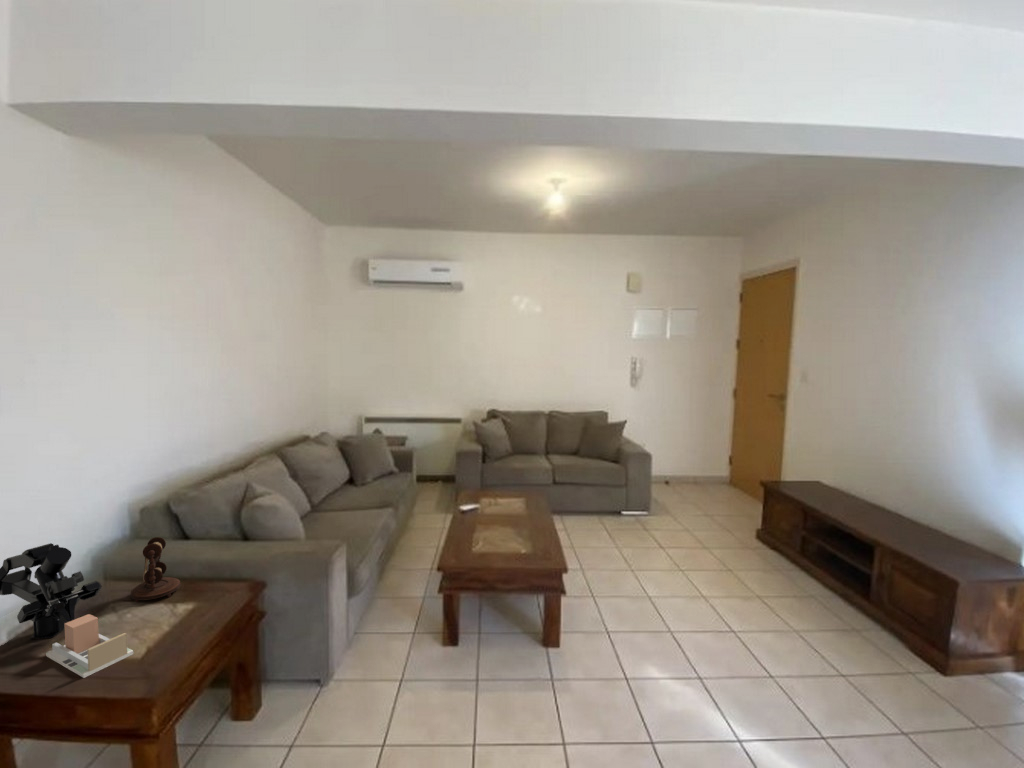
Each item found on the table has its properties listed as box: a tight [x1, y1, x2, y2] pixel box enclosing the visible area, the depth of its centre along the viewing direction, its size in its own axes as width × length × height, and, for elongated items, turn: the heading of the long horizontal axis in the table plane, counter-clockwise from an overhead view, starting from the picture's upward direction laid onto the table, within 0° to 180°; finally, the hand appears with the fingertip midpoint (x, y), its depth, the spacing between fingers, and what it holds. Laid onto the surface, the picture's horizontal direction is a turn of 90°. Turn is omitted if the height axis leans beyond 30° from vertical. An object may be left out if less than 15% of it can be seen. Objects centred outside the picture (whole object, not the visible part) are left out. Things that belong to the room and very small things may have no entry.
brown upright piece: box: [130, 536, 181, 603], centre depth 181 cm, size 15×15×20 cm
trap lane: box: [45, 632, 134, 679], centre depth 145 cm, size 21×12×7 cm, turn 64°
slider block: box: [64, 613, 100, 653], centre depth 146 cm, size 5×6×8 cm
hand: (72, 624), depth 149 cm, fingers closed
